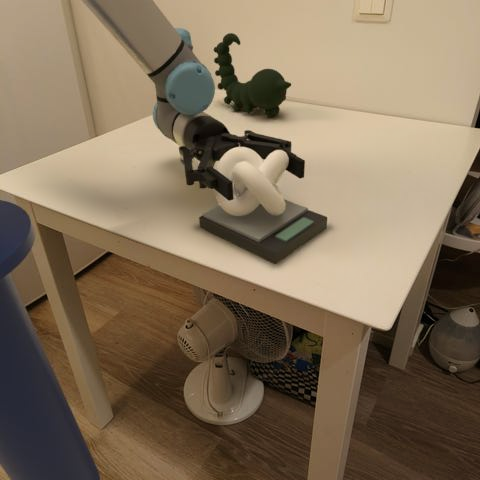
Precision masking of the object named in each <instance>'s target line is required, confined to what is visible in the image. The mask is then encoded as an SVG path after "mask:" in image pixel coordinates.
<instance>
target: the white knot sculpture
mask: <svg viewBox="0 0 480 480" xmlns="http://www.w3.org/2000/svg"><path fill="white" fill-rule="evenodd" d="M288 164H289V157H288V155H287V153H286V152H284V151H283V150H275V151H273V152H272V153H270V154H269V155H268V156H267V158H266V159H265V160H264V159H262V158H261V157H260V156H259V155H258V154H257V153H256V152H255V151H253V150H252V149H250V148H246V147H240V146H239V147H236V148H233V149H231V150H229V151H227V152H226V153H225V154H224V155H223V156H222V158H221V159H220V161H218V162H217V165H216V168H215V169H216V170H217V171H218V172H220V173H221V174H222V175H224V176H225V177H226V178H228V179H229V180H231V181H232V182H233V188H234V189H233V200H230V201H228V200H227V199H226V198H225V197H224V196H222V195H221V194H220V193H219V192H217V191H216V190H215V189H213V190H214V191H213V192H214V196H215V198H216V201H217V203H218V205H220V206H221V208H222V209H223V210H224V211H225V212H227V213H228V214H230V215H234V216H244V215H247V214H249V213H251V212H252V211H254V210H255V209H256V208H257V207H258V206H259V205H260V204H261V205H262V206H263V207H264V208H265V209H266V211H267V212H268V213H270V214H271V215H280V214H282V213H283V212H284V210H285V206H286V203H285V201H284V197H283V195H282V193H281V191H280V189H279V187H278V185H277V182H278V181H279V180H280V179H281V177H282V176H283V175H284V173H285V172H286V171H287V170H286V168H287V166H288ZM234 190H235V191H234ZM235 192H236V193H235ZM237 195H239V197H238V196H237Z"/></svg>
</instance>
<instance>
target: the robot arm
mask: <svg viewBox="0 0 480 480" xmlns="http://www.w3.org/2000/svg"><path fill="white" fill-rule="evenodd" d="M81 1H82V3H83V4H84V5H85V6H86V8H87V9H88V10H90V12H91V13H92V15H94V16H95V18H96V19H97V20H98V21H99V22H100V23H101V25H102V26H103V27H104V28H105V29H106V30H107V31H108V32H109V33H110V35H111V36H112V37H113V38H114V39H115V40H116V41H117V42H118V44H120V46H121V47H122V48H123V49H124V50H125V51H126V53H127V54H128V55H129V56H130V57H131V58H132V59H133V60H134V62H135V63H136V64H137V65H138V66H139V67H140V69H141V70H142V71H143V72H144V73H145V74H146V75H147V76H148V78H149V80H150V81H152V83H153V84H154V88H155V93H156V102H155V104H154V107H153V110H152V120H153V123H154V125H155V127H156V128H157V129H158V130H159V132H160V133H161V134H162V135H163V136H164V137H166V138H167V139H169V140H171V141H172V142H173V143H175V144H176V145H178V146H179V147H178V152H179V160H180V163H181V164H182V165H183V166H184V167H183V168H184V175H185V183H186V185H187V186H189V187H190V186H194V185H195V183H197V182H198V186H199V189H201V190H202V189H203V190H204V189H207V188H208V189H209V190H214V189H215V190H216V191H217V192H219V193H220V194H221V195H222V196H224V197H225V198H226V199H227V200H228V201H230V200H233V190H234V183H233V182H232V181H231V180H229V179H228V178H226V177H225V176H224V175H222V174H221V173H220V172H218V171H217V170H216V168H214V167H215V164H216V163H217V162H219V161H220V159H221V158H222V156H223V155H224V154H225V153H226V152H227V151H229V150H231V149H233V148H236V147H246V148H250V149H252V150H253V151H255V152H256V153H257V154H258V155H259V156H260V157H261V158H262V159H263V161H265V159H266V158H267V156H268V155H269V154H270V153H272V152H273V151H275V150H283V151H284V152H286V153H287V155H288V157H289V164H288V166H287V168H286V170H285V171H286V172H288V173H290V174H291V175H293V176H295V177H296V178H298V179H304V178H305V167H306V160H304V159H303V158H301V157H300V156H297V154H296V153H294V152H292V141H290V140H286V139H282V138H278V137H274V136H269V135H265V134H261V133H256V132H254V131H252V130H250V129H247V130H246V129H245V130H244V135H242V136H238V135H237V134H234V133H233V134H232V133H231V132H230V131H229V129H228V127H226V125H225V124H224V123H223V122H221V121H220V120H219V119H216V118H214V117H213V116H212V115H210V114H208V113H206V112H205V111H206V110H207V109H208V108H209V107H210V106H211V105H212V102H213V100H214V98H215V94H216V87H215V81H214V79H213V78H214V77H213V76H212V73H211V72H210V71H209V69H208V68H207V66H206V65H205V64H203V63H202V62H201V61H200V59H198V57H197V56H196V54H195V53H194V51H193V50H194V45H193V44H192V43H193V42H192V36H191V32H190V31H189V30H187V29H185V28H182V27H174V26H173V24H172V23H171V22H170V20H168V18H167V17H166V15H165V14H164V12H163V11H162V10H161V9H160V7H158V5H157V4H156V3H155V1H154V0H81ZM194 159H196V160H197V161H199V163H198V165H197V168H196V169H194V167H193V162H194V161H193V160H194Z"/></svg>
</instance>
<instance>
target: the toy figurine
mask: <svg viewBox="0 0 480 480" xmlns="http://www.w3.org/2000/svg"><path fill="white" fill-rule="evenodd" d="M233 43H236V44H237V45H238V46H241V40H240V38H239V37H238V35H237V34H235V33H233V32H228V33H227V34H224V36H223V37H222V41H221V42H219V43H217V44H216V46H214V47H213V52H214V53H216V55H217V57H215V58H213V62H214V63H215V64H216V65H218V66H219V67H218V69H216V70H215V71H214V74H215V76H216V77H220V78H221V79H220V82H219V83H217V88H218V90H224V91H225V94H226V96H225V97H224V98H223V102H224V104H226V105H230V104H231V103H233V105H232V108H233V110H234V111H235V112H239V111H241V109H243V112H244V113H246V114H250V113H252V112H253V110H254V109H259V110H262V111H263V112H264V115H265V116H266V117H267V118H269V119H272V118H274V117H277V116H278V115H279V114H280V110H281V109H280V106H281V104H283V102H284V101H286V100H287V92H288V91H287V90H288V89H289V88H290V87H292V83H291V82H289V81H286V80H285V78H284V76H283V75H282V74H281V73H280V72H279V71H277V70H276V69H273V68H263V69H261V70H258V71H257V72H255V74H254V75H253V76H252V77H251V79H249V80H248V81H245V82H241V81H239V78H238V76H237V75H236V73H235V71H236V70H235V67H234V64H232V63H233V57H232V55H231V53H230V51H231V50H230V46H231V45H232V44H233Z"/></svg>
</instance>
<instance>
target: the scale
mask: <svg viewBox="0 0 480 480" xmlns="http://www.w3.org/2000/svg"><path fill="white" fill-rule="evenodd" d="M236 196H238V197H239V195H238V194H236ZM283 199H284V198H283ZM284 201H285V203H286V206H285V210H284V212H283V213H282V214H280V215H271V214H270V213H268V212H267V211H266V209H265V208H264V207H263V206H262V205H261V204H260V205H259V206H258V207H257V208H256V209H255V210H254V211H252V212H251V213H249V214H247V215H244V216H234V215H230V214H228V213H227V212H225V211H224V210H223V209H222V208H221V206H220V205H219V204H218V205H216V206H214V207H213V208H211V209H209V210H207V211H205V212H204V213H202V215H200V216H199V217H198V221H199V228H200V229H201V230H204V231H206V232H208V233H209V234H212V235H213V236H216V237H218V238H220V239H223V240H225V241H227V242H229V243H231V244H233V245H235V246H237V247H239V248H241V249H243V250H245V251H247V252H250V253H251V254H252V255H253V254H254V255H255V256H258V257H260V258H262V259H264V260H266V261H268V262H270V263H272V264H274V265H276V264H278V263H279V262H281V261H282V260H284V259H285V258H286V257H288V256H290V254H292V253H293V252H294V251H296V250H298V249H299V248H300V247H302V246H303V245H305V244H306V243H308V242H309V241H310V240H311V239H313V238H314V237H316V236H317V235H319V234H320V233H321V232H323V231H325V229H327V225H328V216H326V215H324V214H321V213H318V212H315V211H313V210H310V209H309V208H308V207H306V206H303V205H300V204H298V203H295V202H294V201H291V200H287V199H284Z"/></svg>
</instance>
